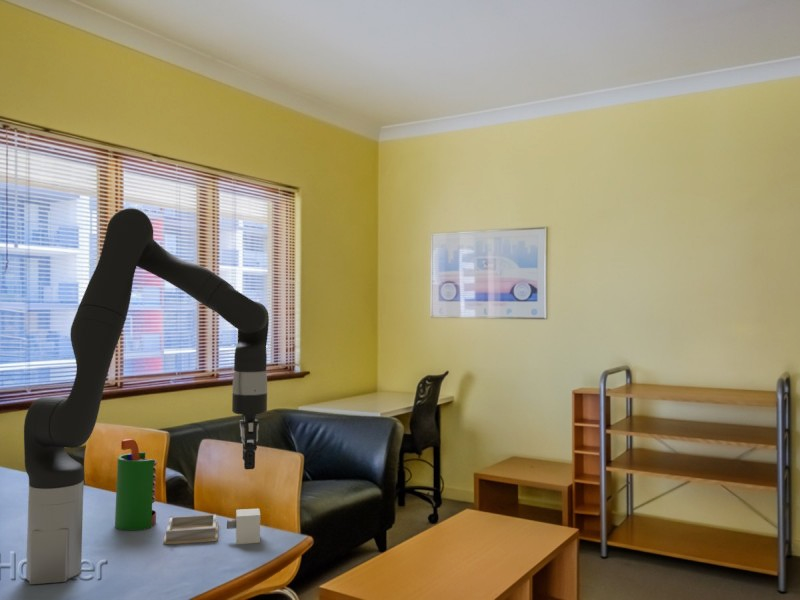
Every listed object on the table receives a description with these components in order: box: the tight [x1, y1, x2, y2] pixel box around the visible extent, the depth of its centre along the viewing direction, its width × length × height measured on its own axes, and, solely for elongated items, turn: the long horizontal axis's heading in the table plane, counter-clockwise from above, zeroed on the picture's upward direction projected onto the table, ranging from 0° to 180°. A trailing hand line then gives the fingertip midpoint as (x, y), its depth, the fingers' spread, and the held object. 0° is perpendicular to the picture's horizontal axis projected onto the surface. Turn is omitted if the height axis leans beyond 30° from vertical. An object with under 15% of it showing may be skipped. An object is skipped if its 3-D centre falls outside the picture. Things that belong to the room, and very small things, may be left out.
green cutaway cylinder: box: [114, 438, 158, 531], centre depth 154 cm, size 10×9×20 cm
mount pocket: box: [162, 513, 219, 546], centre depth 147 cm, size 11×11×3 cm
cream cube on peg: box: [226, 508, 261, 545], centre depth 144 cm, size 5×7×6 cm
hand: (248, 464), depth 145 cm, fingers open, 8 cm apart
